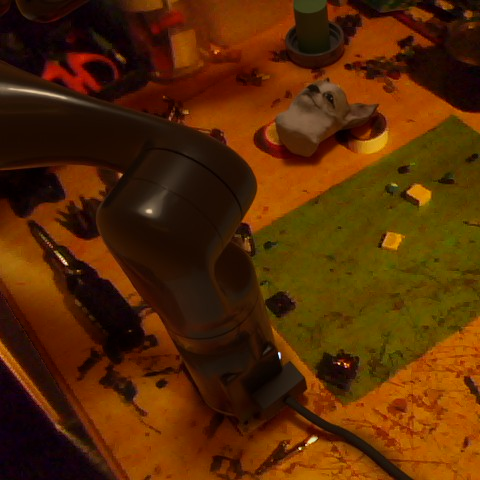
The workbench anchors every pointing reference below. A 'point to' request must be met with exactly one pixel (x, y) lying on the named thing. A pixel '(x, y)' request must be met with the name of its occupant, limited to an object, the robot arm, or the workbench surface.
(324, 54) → the dark grey jar lid
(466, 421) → the workbench surface
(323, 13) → the green can
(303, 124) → the ceramic sculpture
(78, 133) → the robot arm
